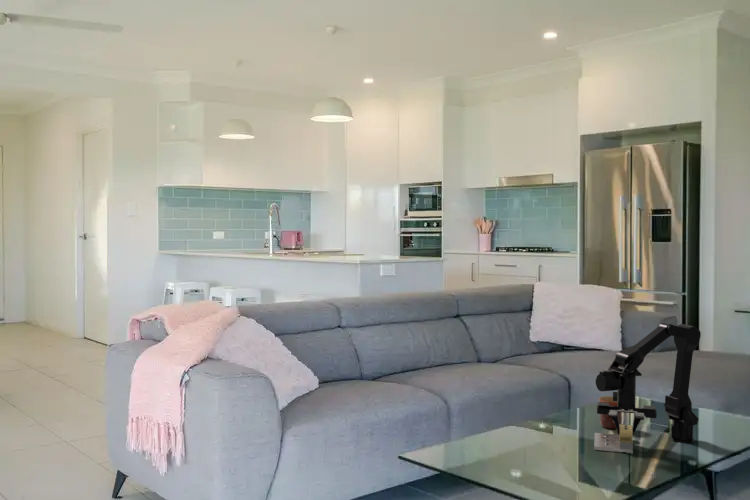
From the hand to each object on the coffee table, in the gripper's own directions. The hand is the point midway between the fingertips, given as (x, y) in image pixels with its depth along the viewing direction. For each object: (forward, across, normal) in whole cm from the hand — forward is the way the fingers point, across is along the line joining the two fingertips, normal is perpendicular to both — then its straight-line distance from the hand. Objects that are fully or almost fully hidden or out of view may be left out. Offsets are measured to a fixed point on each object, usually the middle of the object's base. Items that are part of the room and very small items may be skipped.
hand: (625, 435), depth 247 cm
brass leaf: (+1, 0, 0) cm, 1 cm away
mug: (+4, +5, -20) cm, 21 cm away
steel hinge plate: (+4, +4, 0) cm, 5 cm away
